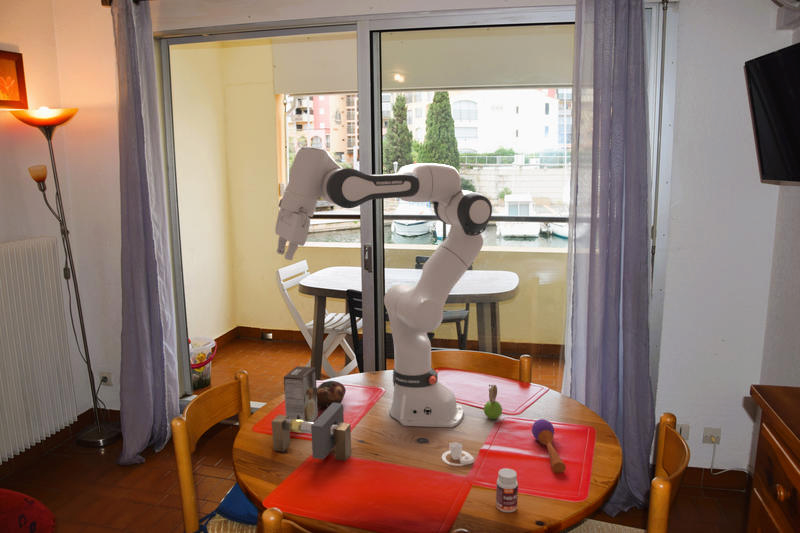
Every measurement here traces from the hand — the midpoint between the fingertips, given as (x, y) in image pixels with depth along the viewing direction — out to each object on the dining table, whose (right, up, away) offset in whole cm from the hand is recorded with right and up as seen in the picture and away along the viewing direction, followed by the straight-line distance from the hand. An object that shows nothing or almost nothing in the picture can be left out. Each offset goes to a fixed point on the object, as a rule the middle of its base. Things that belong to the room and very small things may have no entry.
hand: (283, 256), depth 155 cm
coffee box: (+2, -49, +19) cm, 53 cm away
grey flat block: (+12, -50, 0) cm, 52 cm away
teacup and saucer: (+45, -54, -4) cm, 70 cm away
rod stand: (+7, -52, +2) cm, 53 cm away
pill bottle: (+55, -57, -23) cm, 82 cm away
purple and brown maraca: (+70, -52, 0) cm, 88 cm away
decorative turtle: (+9, -47, +31) cm, 57 cm away
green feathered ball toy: (+58, -48, +20) cm, 78 cm away
